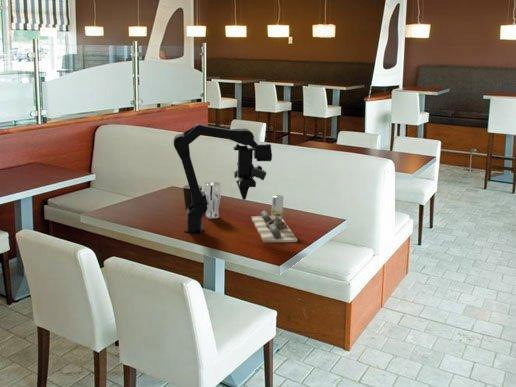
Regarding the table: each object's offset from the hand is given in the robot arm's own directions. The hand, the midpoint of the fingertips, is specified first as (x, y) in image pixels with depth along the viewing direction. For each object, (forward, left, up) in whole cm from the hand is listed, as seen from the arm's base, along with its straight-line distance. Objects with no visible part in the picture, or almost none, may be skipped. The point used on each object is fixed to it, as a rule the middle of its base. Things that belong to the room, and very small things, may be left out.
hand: (244, 199), depth 232 cm
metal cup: (+6, -12, -12) cm, 18 cm away
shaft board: (+6, -11, -13) cm, 18 cm away
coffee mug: (+22, +32, -13) cm, 41 cm away
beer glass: (+13, +18, -13) cm, 26 cm away
